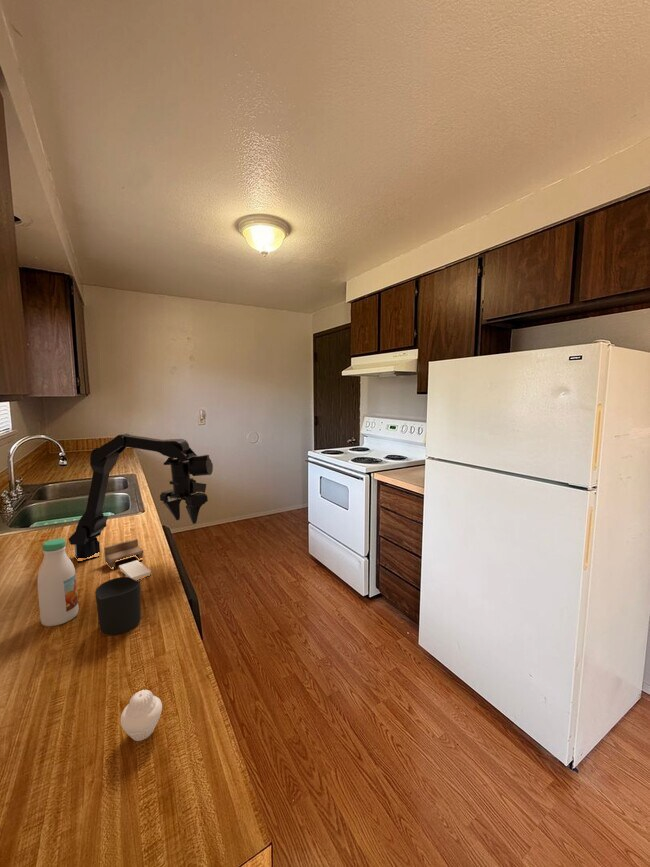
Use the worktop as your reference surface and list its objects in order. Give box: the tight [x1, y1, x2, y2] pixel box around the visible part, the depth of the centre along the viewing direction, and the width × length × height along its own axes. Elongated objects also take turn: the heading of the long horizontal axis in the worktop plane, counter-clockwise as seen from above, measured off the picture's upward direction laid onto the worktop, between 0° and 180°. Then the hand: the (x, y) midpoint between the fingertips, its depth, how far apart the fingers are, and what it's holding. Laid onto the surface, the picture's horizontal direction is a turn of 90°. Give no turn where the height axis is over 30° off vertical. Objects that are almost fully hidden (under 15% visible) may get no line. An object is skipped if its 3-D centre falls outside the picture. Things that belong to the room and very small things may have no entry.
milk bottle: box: [37, 538, 79, 627], centre depth 90 cm, size 8×8×20 cm
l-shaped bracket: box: [103, 538, 144, 568], centre depth 121 cm, size 10×6×6 cm, turn 135°
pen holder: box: [94, 576, 142, 636], centre depth 87 cm, size 9×9×10 cm
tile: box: [118, 559, 152, 580], centre depth 114 cm, size 6×12×2 cm, turn 47°
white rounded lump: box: [120, 689, 163, 742], centre depth 59 cm, size 6×6×7 cm
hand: (186, 521), depth 122 cm, fingers open, 9 cm apart
